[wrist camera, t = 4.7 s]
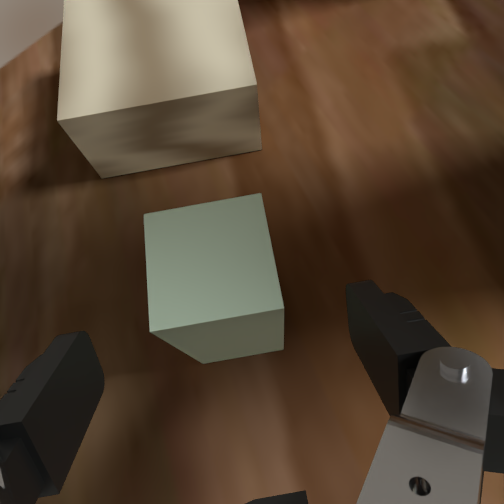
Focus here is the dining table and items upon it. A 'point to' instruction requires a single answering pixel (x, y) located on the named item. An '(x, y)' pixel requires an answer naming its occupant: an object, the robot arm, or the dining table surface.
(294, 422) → the dining table surface
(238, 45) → the maple block
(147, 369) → the dining table surface
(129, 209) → the dining table surface
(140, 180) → the dining table surface
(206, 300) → the sage block
